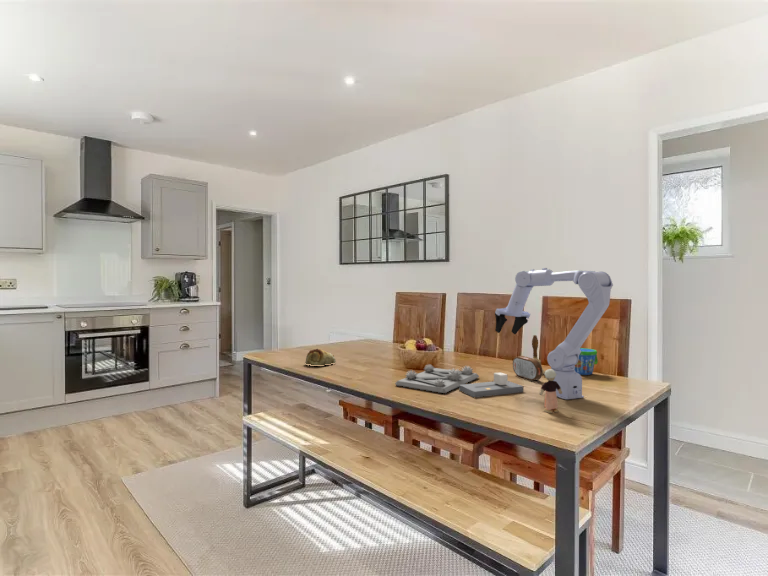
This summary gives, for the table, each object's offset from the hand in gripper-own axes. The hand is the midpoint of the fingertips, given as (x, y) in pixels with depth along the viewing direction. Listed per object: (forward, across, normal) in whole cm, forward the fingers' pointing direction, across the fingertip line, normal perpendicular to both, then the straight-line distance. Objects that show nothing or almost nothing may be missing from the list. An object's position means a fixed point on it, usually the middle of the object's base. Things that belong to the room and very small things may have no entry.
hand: (505, 332), depth 164 cm
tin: (+17, -14, +6) cm, 23 cm away
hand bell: (+19, -24, -1) cm, 31 cm away
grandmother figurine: (+4, +8, +41) cm, 42 cm away
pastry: (+49, +56, -45) cm, 87 cm away
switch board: (+15, +11, +17) cm, 25 cm away
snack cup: (+13, -41, +6) cm, 43 cm away
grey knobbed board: (+25, +22, 0) cm, 33 cm away
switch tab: (+12, +7, +16) cm, 22 cm away
